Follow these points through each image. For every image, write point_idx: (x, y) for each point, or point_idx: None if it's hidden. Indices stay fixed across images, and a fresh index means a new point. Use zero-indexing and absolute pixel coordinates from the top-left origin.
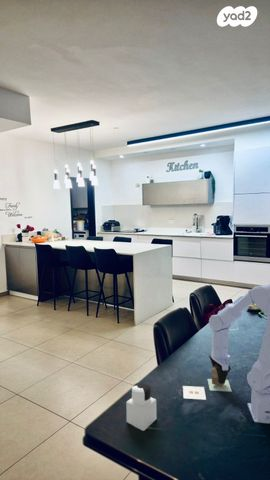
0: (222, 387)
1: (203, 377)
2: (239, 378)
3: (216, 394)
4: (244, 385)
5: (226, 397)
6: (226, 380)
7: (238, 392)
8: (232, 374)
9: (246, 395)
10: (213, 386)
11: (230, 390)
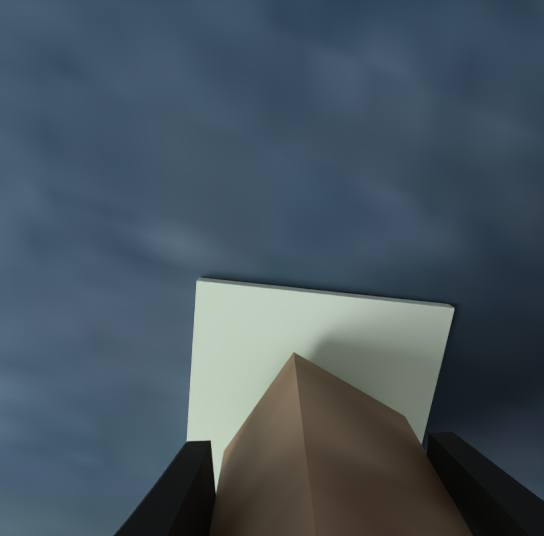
0: (364, 387)
1: None
2: (130, 100)
3: None
4: (308, 89)
5: (526, 381)
6: (213, 303)
7: (455, 224)
8: (32, 169)
9: (531, 145)
10: None
11: (433, 316)
